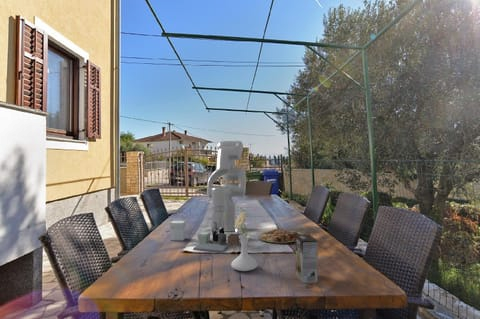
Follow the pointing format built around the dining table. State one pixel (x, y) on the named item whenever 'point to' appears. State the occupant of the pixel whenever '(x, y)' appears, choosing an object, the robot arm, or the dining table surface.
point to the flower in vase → (243, 248)
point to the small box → (177, 230)
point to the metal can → (239, 231)
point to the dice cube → (221, 239)
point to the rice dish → (279, 236)
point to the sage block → (203, 237)
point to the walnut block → (233, 239)
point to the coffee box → (306, 258)
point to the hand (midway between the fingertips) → (218, 239)
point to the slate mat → (210, 247)
